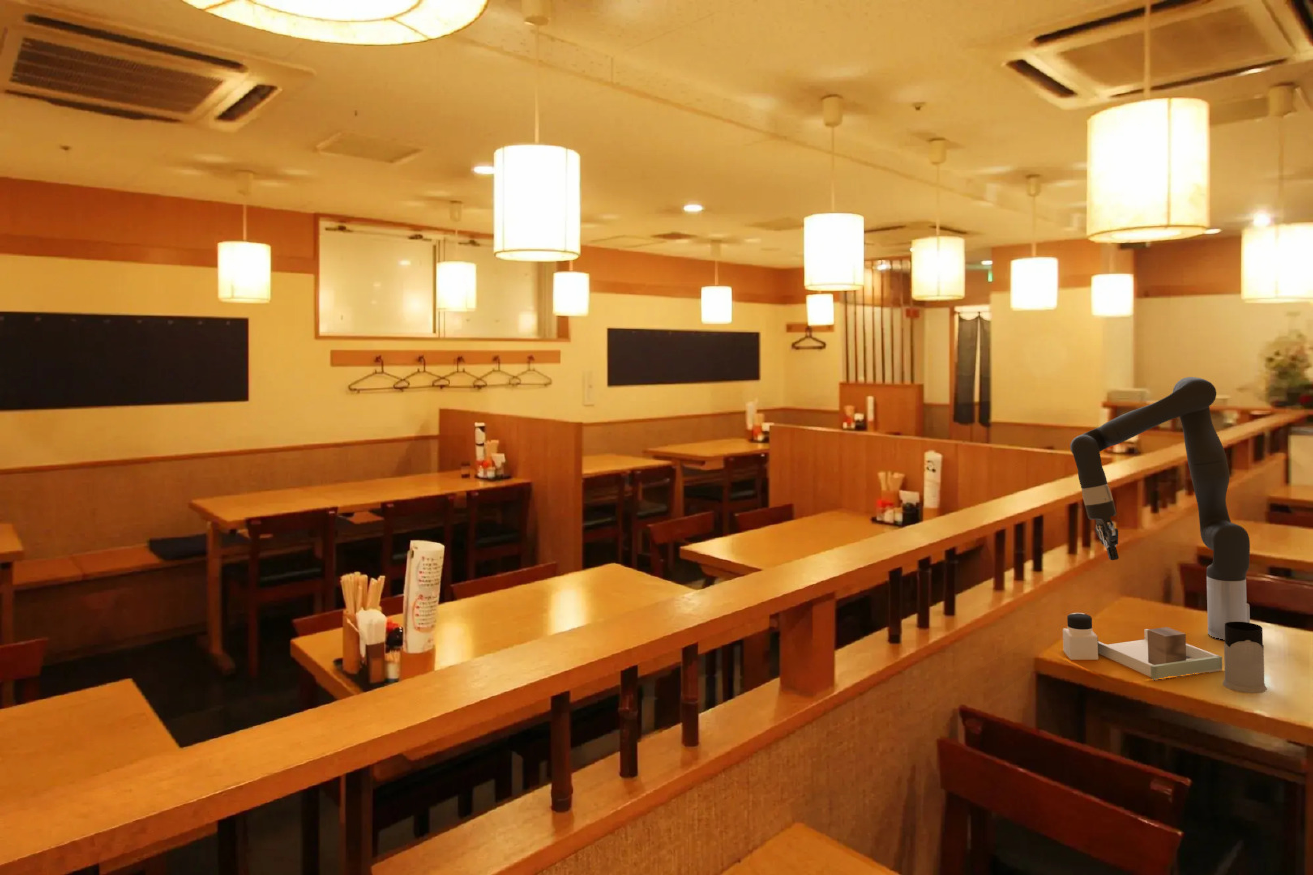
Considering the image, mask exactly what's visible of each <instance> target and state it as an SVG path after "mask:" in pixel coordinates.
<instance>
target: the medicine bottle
mask: <svg viewBox="0 0 1313 875" xmlns="http://www.w3.org/2000/svg"><path fill="white" fill-rule="evenodd" d="M1066 619H1067V622H1066V623H1067V628H1065V627H1064V628H1062V642H1063V643H1062V644H1063V645H1062V646H1063V647H1062V648H1063V652H1064V653H1065V655H1066V656H1067V658H1069V660H1070V662H1072V660H1074V661H1075V660H1080V661H1081V660H1082V661H1083V660H1084V661H1085V660H1099V654H1098V641H1099V637H1098V635H1097V634H1096V633H1095V632H1094V630H1093V618H1092V616H1091V615H1090V614H1087V613H1085V612H1084V613H1083V612H1073V613H1069V614H1068V615H1067V617H1066Z"/></svg>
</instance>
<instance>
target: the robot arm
mask: <svg viewBox="0 0 1313 875" xmlns="http://www.w3.org/2000/svg"><path fill="white" fill-rule="evenodd" d="M1216 398H1217V389H1216V387H1215V385H1214V384H1213V383H1212V382H1211V381H1209V380H1207V379H1204V378H1201V377H1196V376H1195V377H1194V376H1187V377H1183V378H1181V379H1180V380H1177V382H1176V383H1175V384H1174V387H1173V389H1172V392H1171V394H1169V395H1167V396H1165V397H1163V398H1162V399H1159V400H1157V401H1155V402H1152V403H1151V404H1148V405H1145V406H1142V407H1140V408H1136V409H1134V410H1131V411H1128V412H1126V413H1123V414H1121V415H1118V417H1114V418H1113V419H1111V420H1109V421H1107V422H1105V423H1103V424H1102V425H1100V426H1098V427H1095V428H1094V429H1091V430H1089V431H1086V432H1084V433H1082V434H1080V435H1078V436H1076V437H1074V438H1073V439H1072V441H1071V442H1070V444H1069V449H1070V452H1071V453H1072V457H1074V458H1073V459H1074V463H1075V465H1076V469H1077V476H1078V480H1079V485H1080V488H1081V496H1082V499H1083V504H1084V508H1085V511H1086V515H1087V518H1088V519H1089V520H1095V523H1096V524H1095V527H1094V531H1095V533H1096V535H1097V537H1098V539H1099V541H1100V543H1101V544H1102V545H1103V546H1104V547H1105V548H1106V553H1107V556H1108V559H1109V560H1110V561H1116V560H1119V557H1120V556H1119V554H1118V550H1117V545H1119V529H1118V528H1116V525H1115V522H1113V521H1112V519H1111V518H1112V517H1115V516H1116V515H1117V510H1116V506H1115V502H1114V498H1113V495H1112V491H1111V489H1110V487H1109V485H1108V480H1107V477H1106V473H1105V469H1104V468H1103V464H1102V457H1101V452H1102V451H1104V450H1106V449H1108V448H1110V447H1113V446H1117V445H1119V444H1122V443H1124V442H1126V441H1128V440H1130V439H1132V438H1134V437H1136V436H1139V435H1141V434H1143V433H1144V432H1146V431H1148V430H1151V429H1152V428H1155V427H1158V426H1159V425H1162V424H1164V423H1166V422H1169V421H1171V420H1173V419H1177V418H1179V419H1180V423H1181V426H1182V431H1183V439H1184V441H1183V442H1184V448H1185V453H1186V459H1187V465H1188V469H1189V473H1190V474H1189V475H1190V477H1191V481H1192V486H1193V490H1194V495H1195V498H1196V503H1197V510H1198V518H1199V519H1198V520H1199V521H1198V522H1199V533H1200V538H1201V541H1202V543H1203V545H1205V547H1206V548H1208V549H1209V550H1212V551H1213V552H1212V554H1213V555H1212V556H1213V558H1212V563H1211V564H1209V565H1208V566H1207V567H1206V600H1207V601H1206V603H1207V604H1206V605H1207V606H1206V607H1207V608H1206V609H1207V612H1206V613H1207V635H1208V634H1209V635H1211V636H1212V637H1211V636H1210V637H1211V638H1213V637H1215V638H1214V639H1216V638H1219V639H1218V640H1220V639H1223V640H1222V641H1225V623H1227V622H1233V621H1235V622H1248V623H1251V619H1250V618H1251V616H1250V614H1251V613H1250V611H1251V610H1250V604H1249V603H1247V572H1248V571H1249V568H1250V556H1251V552H1250V551H1251V542H1250V536H1249V534H1248V533H1249V532H1248V531H1247V530H1246V528H1244V527H1243V526H1241V525H1240V524H1236V523H1233V522H1232V521H1231V519H1230V516H1229V515H1230V514H1229V512H1228V507H1227V492H1228V488H1229V483H1230V469H1229V463H1228V459H1227V455H1226V452H1225V449H1224V446H1223V444H1222V441H1221V439H1220V437H1219V435H1218V434H1217V431H1216V429H1215V426H1214V424H1213V421H1212V417H1211V409H1210V406H1212V405H1213V403H1214V402H1215V400H1216ZM1209 635H1208V636H1209Z"/></svg>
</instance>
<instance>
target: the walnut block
mask: <svg viewBox="0 0 1313 875" xmlns="http://www.w3.org/2000/svg"><path fill="white" fill-rule="evenodd" d="M1148 629H1149V628H1148ZM1147 632H1148V663H1151V664H1153V665H1158V664H1165V663H1172V662H1178V661H1185V660H1186V644H1187V642H1186V641H1187V640H1186V636H1187V635H1186V633H1185V632H1182V631H1178V630H1176V629H1173V628H1171V627H1169V626H1165V627H1158V628H1157V627H1156V628H1151V629H1149V630H1147Z"/></svg>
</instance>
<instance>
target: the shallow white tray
mask: <svg viewBox="0 0 1313 875" xmlns="http://www.w3.org/2000/svg"><path fill="white" fill-rule="evenodd" d="M1143 630H1144V639H1138V640H1131V641H1124V642H1118V643H1116V642H1115V643H1109V644H1106V643H1103V642H1102V641H1099V640H1098V655H1101V656H1103V657H1106V658H1108V659H1109V660H1112V661H1114V662H1116V663H1119V664H1121V665H1122V666H1125V667H1127V668H1130V669H1132V670H1134V671H1136V672H1138V673H1140V674H1142V675H1145V676H1147V677H1150V678H1151V679H1153V680H1152V681H1154V680H1155V681H1157V680H1156V679H1159V678H1164V677H1168V676H1181V675H1186V674H1193V673H1194V674H1195V673H1203V672H1209V673H1214V672H1215V673H1216V672H1220V671H1221V670H1222V671H1223V657H1222V656H1220V655H1218V654H1215V653H1213V652H1210V651H1207V650H1205V649H1201V648H1199V647H1196V646H1194V645H1192V644H1189V643H1186V656H1188V657H1191V658H1189V659H1186V660H1185V661H1178V662H1172V663H1165V664H1158V665H1153V664H1151V663H1148V632H1147V630H1149V628H1144V629H1143ZM1222 671H1221V672H1222ZM1203 674H1204V673H1203ZM1151 679H1150V680H1151Z"/></svg>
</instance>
